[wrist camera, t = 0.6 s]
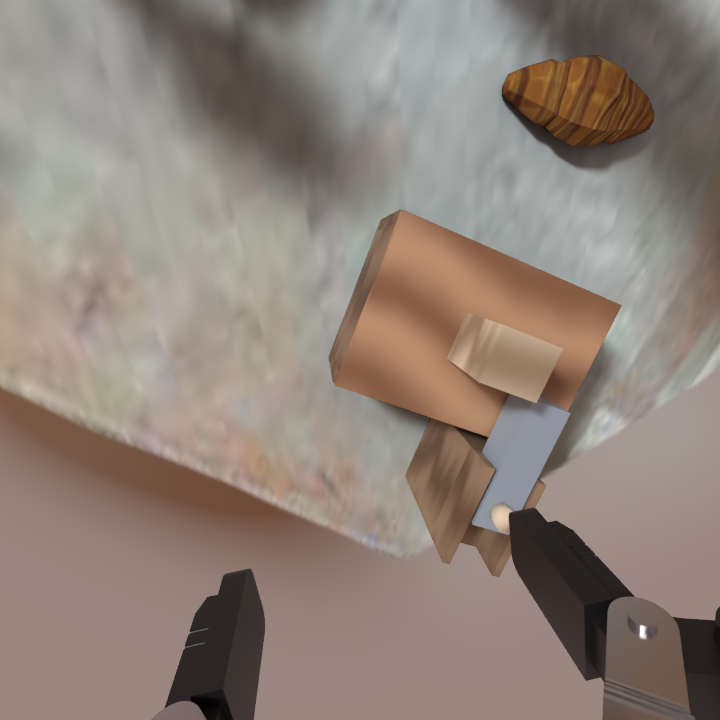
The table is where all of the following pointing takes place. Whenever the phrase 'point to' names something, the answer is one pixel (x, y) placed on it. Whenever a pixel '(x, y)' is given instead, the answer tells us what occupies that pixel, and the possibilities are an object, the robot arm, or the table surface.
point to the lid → (469, 330)
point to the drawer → (517, 457)
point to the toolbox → (438, 450)
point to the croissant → (580, 100)
